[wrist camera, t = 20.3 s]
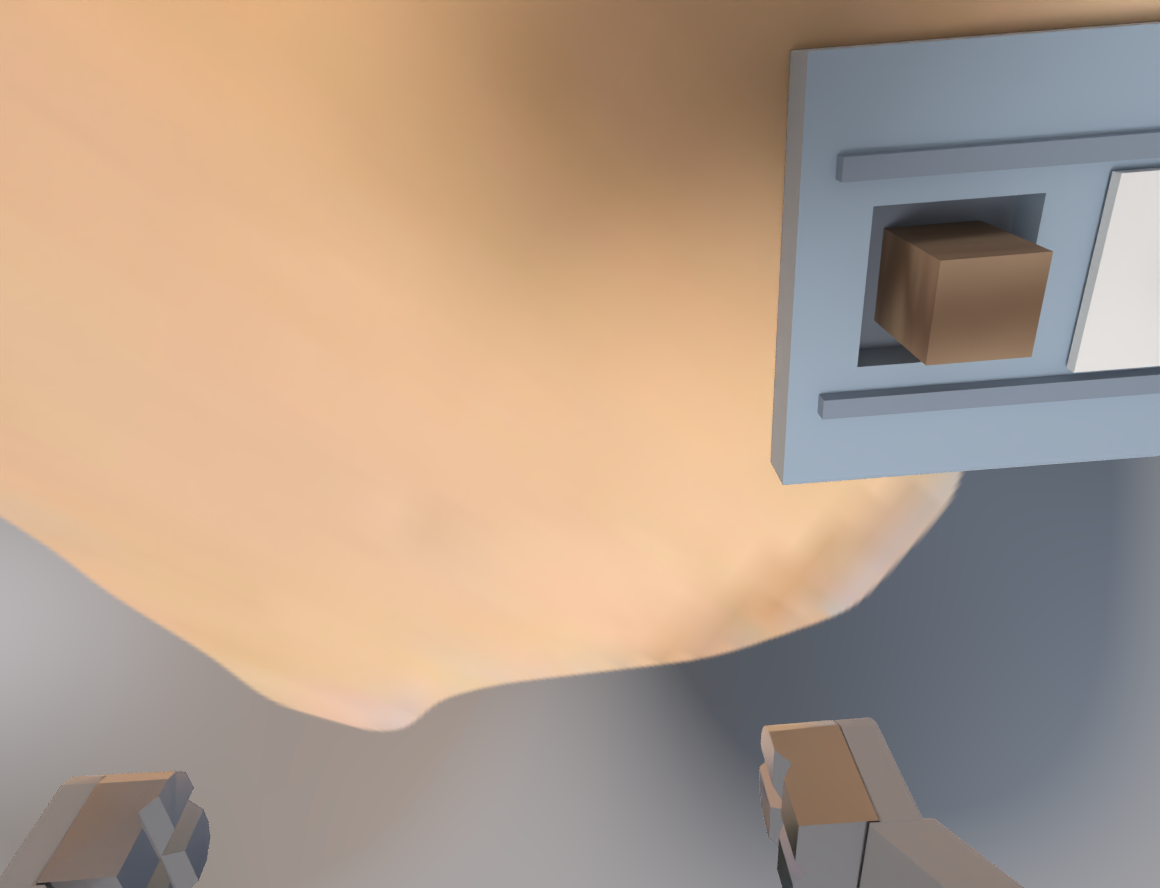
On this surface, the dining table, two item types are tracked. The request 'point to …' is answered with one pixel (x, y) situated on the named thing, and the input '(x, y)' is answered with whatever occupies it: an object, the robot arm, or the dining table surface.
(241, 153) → the dining table surface
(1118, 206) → the lid
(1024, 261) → the walnut block
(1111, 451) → the puzzle board
